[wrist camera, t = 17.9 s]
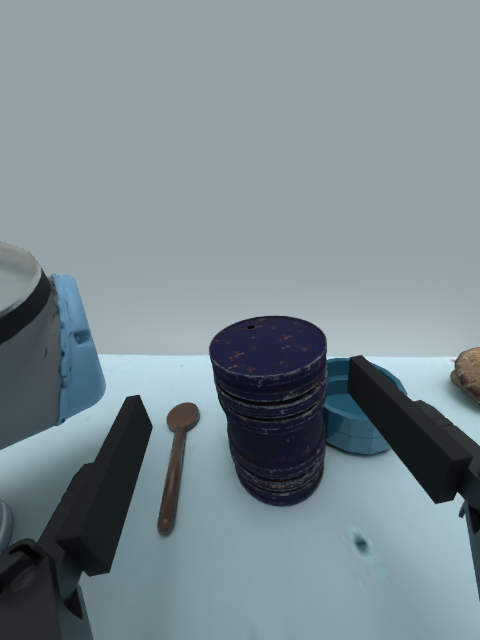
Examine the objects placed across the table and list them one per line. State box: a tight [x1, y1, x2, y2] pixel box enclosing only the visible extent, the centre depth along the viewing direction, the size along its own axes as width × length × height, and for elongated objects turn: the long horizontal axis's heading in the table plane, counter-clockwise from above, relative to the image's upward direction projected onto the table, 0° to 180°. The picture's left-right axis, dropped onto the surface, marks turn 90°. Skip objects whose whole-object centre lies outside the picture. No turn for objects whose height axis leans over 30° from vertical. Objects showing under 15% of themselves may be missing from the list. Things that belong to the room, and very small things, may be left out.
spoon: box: [157, 403, 200, 534], centre depth 26 cm, size 15×4×1 cm, turn 6°
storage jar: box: [209, 316, 328, 507], centre depth 22 cm, size 10×10×15 cm
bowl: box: [322, 358, 407, 454], centre depth 27 cm, size 10×10×6 cm
